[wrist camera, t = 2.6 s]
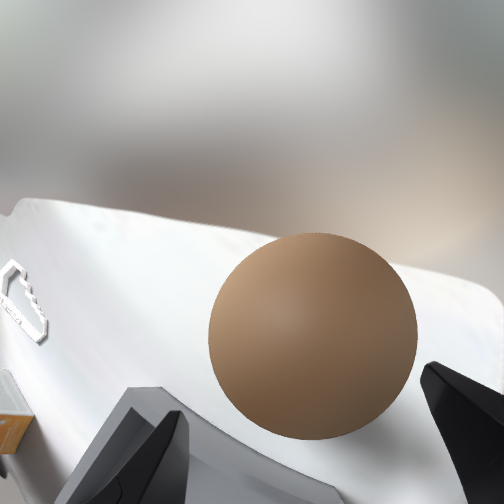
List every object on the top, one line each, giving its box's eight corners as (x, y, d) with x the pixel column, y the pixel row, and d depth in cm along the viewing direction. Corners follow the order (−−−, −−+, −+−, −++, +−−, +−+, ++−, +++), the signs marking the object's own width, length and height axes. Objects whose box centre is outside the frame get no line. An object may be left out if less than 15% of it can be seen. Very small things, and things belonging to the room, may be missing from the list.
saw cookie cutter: (67, 305, 21) (57, 299, 20) (49, 348, 19) (38, 345, 18) (12, 257, 24) (3, 251, 22) (-4, 291, 22) (-12, 286, 20)
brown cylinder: (336, 347, 18) (440, 290, 6) (299, 408, 16) (353, 470, 4) (275, 313, 19) (280, 202, 7) (236, 372, 17) (167, 363, 6)
